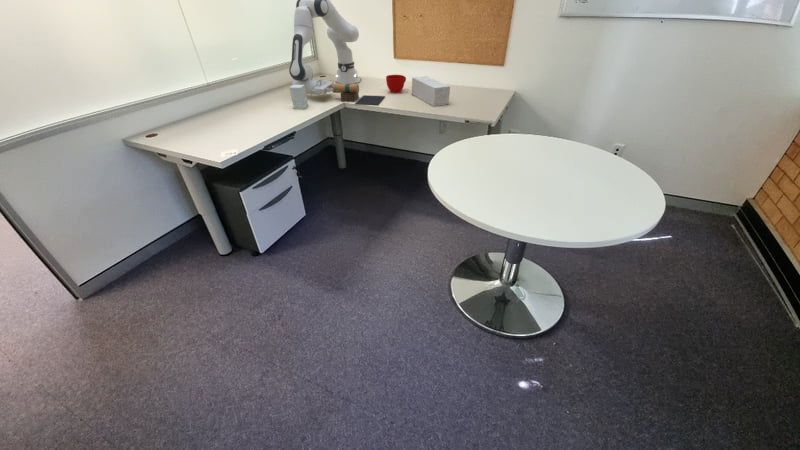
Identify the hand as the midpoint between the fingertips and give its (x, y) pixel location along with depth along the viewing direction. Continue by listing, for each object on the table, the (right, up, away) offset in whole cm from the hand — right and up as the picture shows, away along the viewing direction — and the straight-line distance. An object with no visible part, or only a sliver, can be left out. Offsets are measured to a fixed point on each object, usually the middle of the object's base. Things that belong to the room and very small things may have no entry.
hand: (336, 88), depth 215 cm
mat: (+23, -8, 0) cm, 24 cm away
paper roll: (+6, -1, -1) cm, 6 cm away
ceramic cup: (+40, +6, +19) cm, 45 cm away
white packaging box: (-20, -17, -11) cm, 28 cm away
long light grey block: (+62, -6, +3) cm, 62 cm away
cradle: (+9, -6, +3) cm, 11 cm away
